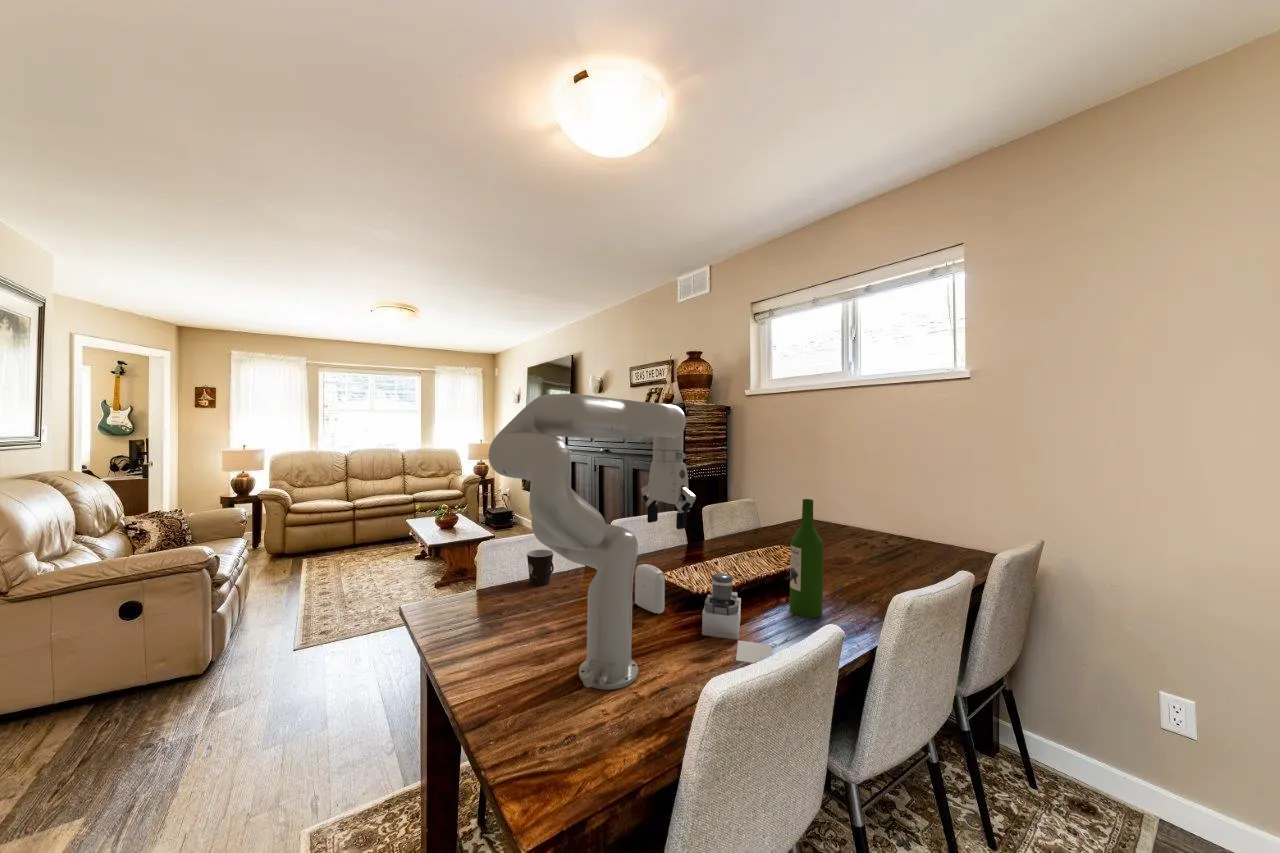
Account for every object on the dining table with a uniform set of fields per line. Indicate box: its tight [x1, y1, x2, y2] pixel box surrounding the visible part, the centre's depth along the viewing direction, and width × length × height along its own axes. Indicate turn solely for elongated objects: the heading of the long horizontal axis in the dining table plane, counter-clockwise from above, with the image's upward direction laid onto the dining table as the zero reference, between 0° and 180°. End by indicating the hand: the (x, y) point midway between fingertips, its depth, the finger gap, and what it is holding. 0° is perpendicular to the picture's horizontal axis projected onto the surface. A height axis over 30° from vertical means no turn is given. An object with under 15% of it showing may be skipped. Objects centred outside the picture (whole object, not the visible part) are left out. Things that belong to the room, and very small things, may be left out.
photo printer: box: [634, 563, 666, 615], centre depth 134 cm, size 10×4×12 cm, turn 39°
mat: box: [735, 639, 773, 664], centre depth 108 cm, size 10×8×1 cm
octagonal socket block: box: [701, 589, 742, 641], centre depth 122 cm, size 13×9×8 cm
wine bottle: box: [789, 498, 825, 619], centre depth 134 cm, size 9×9×32 cm
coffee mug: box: [526, 549, 554, 587], centre depth 152 cm, size 12×9×10 cm
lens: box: [711, 573, 734, 607], centre depth 120 cm, size 5×5×8 cm
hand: (666, 525), depth 116 cm, fingers open, 9 cm apart
